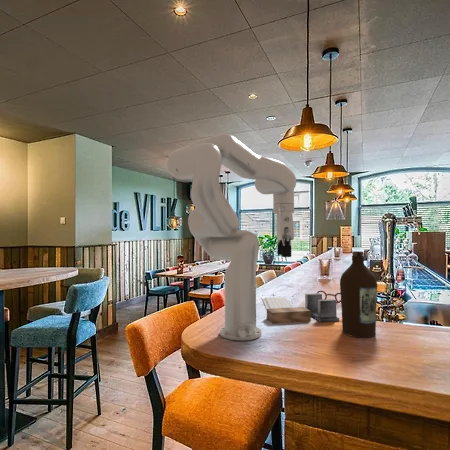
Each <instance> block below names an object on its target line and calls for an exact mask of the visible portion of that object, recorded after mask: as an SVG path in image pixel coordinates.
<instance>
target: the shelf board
mask: <svg viewBox="0 0 450 450" xmlns="http://www.w3.org/2000/svg"><path fill="white" fill-rule="evenodd" d="M311 318H312V317H311V311H310V310H308V309H306V308H305V306H294V307H293V306H292V307H291V308H271V309H267V310H266V320H267V321H268V322H270V323H271V324H289V323H291V324H292V323H304V322H305V323H306V322H311V321H312V319H311Z"/></svg>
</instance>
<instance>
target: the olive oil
mask: <svg viewBox="0 0 450 450" xmlns="http://www.w3.org/2000/svg"><path fill="white" fill-rule="evenodd" d="M364 258H365V256H364V251H360V250H359V251H358V250H356V251H354V250H353V251H352V256H351V264H350V266H349V267H348V268H347V269H345V271H344V272H343V273H342V274H341V277H340V279H339V290H340V292H339V293H341V294H340V300H341V303H340V305H341V322H342V323H341V326H342V327H341V328H342V329H341V330H342V333H343V334H345V335H347V336H350V337H354V338H365V339H367V338H374V337H375V336H376V332H377V329H376V327H377V321H378V315H377V302H378V301H377V300H378V299H377V298H378V281H377V278H376V276H375V275H374V273H373V272H372V271H371V270H370V269H369V268H368V267H367V266H366V265H365V259H364Z"/></svg>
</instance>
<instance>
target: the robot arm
mask: <svg viewBox="0 0 450 450" xmlns="http://www.w3.org/2000/svg"><path fill="white" fill-rule="evenodd" d="M222 166H223V167H225V168H227V169H229V170H230V171H231V172H232V173H234V174H236V175H237V176H239V177H240V178H242V179H248V180H254V187H255V190H256V191H257V192H259V193H260V194H261V195H272V196H273V201H272V202H273V203H272V204H273V206H272V207H273V209H272V210H273V212H272V213H273V214H275V215H276V217H275V220H276V221H275V230H276V231H275V232H276V233H275V234H276V239H277V246H276V247H277V253H276V254H277V256H281V257H283V258H292V242H291V241H293V240H294V239H295V236H294V235H295V232H294V231H295V230H294V229H295V228H294V218H293V214H294V213H295V187H296V186H297V177H296V175H295V173H294V171H293V170H292V169H291V168H290V167H288V165H286V164H285V163H284V162H281V161H280V160H277V159H274V158H270V157H268V156H267V157H266V156H264V155H259V154H256V153H255V152H253V151H252V149H250V148H249V147H248V146H246V145H245V143H243V142H241V141H240V139H239V140H238V139H237V138H236V137H235V136H234V135H232V134H228V133H221V134H217V135H216V134H215V135H212V136H210V137H205V138H202V139H200V140H198V141H195V142H193V143H190V144H188V145H185V146H183V147H180V148H177V149H174V150H173V151H172V152H171V153H169V155H168V157H167V161H166V167H167V171H168V172H169V174H170V175H171V176H172V177H174V178H175V179H178V180H187V179H192V183H191V184H192V185H191V191H190V199H191V202H192V204H193V206H194V208H193V209H192V210H191V211H190V212H189V215H188V219H187V224H188V229H189V231H190V233H191V235H192V236H193V238H194V239H195V241H197V243H198V244H199V245H200V247H201V248H202V249H203V250H204V252H205V253H206V254H207V255H208V256H209V257H210V258H212V259H214V260H218V261H228V262H229V265H228V266H227V268H226V270H225V273H224V274H225V275H224V326H223V327H221V328H220V329H219V335H220V337H222V338H223V339H227V340H230V341H240V342H241V341H252V340H256V339H259V338H260V337H261V336H262V330H261V328H259V327H257V262H258V258H259V257H258V256H259V251H260V240H259V239H258V237H257V235H256V234H255V233H253V232H252V231H249V230H246V229H245V230H243V229H239V228H240V219H239V218H238V215H237V213H236V212H235V210H234V208H233V207H232V205H231V204H230V203H229V201H228V199H227V197H226V196H225V195H224V193H223V192H222V189H221V186H220V173H221V167H222Z"/></svg>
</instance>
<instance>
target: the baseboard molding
mask: <svg viewBox="0 0 450 450" xmlns="http://www.w3.org/2000/svg"><path fill="white" fill-rule="evenodd" d="M262 297H263V296H260V299H261V300H262V302H263V305H264V306H265V310H266V311H267V309H271V308H291V307H293V306H292V305H291V303H290V302H289V301H288V299H287V297H275V294H272V297H271V296H269V297H267V296H266V297H265V296H264V298H262Z"/></svg>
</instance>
